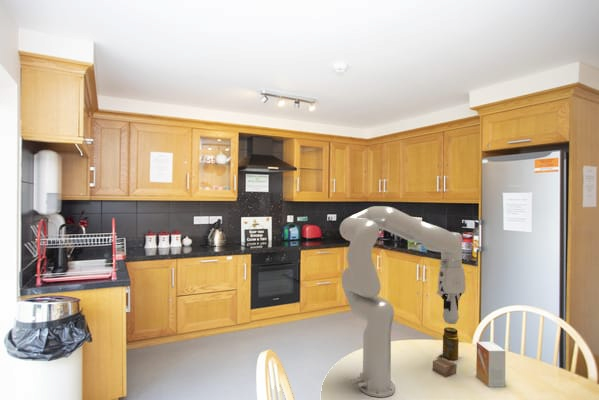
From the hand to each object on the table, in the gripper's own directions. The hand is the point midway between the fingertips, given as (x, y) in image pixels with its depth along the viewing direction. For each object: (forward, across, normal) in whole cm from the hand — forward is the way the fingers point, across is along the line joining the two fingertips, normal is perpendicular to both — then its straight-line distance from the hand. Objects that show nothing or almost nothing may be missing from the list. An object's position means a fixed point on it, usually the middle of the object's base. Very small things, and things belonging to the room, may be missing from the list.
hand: (450, 309), depth 137 cm
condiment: (+23, +6, +7) cm, 25 cm away
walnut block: (+23, -5, -2) cm, 24 cm away
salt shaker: (+5, 0, 0) cm, 5 cm away
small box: (+23, +6, -13) cm, 27 cm away
